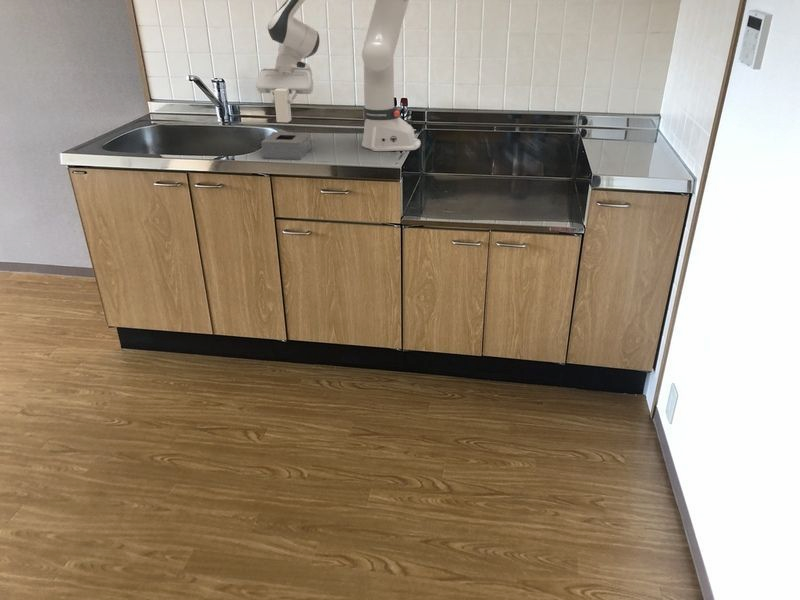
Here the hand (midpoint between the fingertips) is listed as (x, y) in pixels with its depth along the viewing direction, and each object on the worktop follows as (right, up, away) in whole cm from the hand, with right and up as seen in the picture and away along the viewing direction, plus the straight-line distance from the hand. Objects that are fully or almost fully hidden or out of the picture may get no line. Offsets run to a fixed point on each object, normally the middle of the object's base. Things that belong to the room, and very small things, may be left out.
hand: (282, 102), depth 237 cm
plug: (0, -6, +4) cm, 7 cm away
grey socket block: (0, -16, +9) cm, 18 cm away
